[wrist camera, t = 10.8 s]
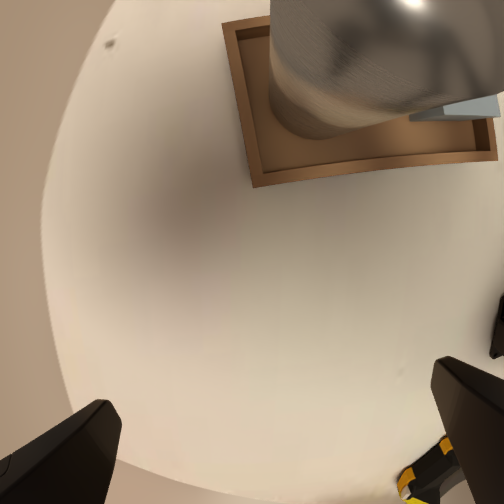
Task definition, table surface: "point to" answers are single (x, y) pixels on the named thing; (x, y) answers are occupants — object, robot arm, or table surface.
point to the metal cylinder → (379, 60)
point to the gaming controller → (428, 475)
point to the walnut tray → (340, 147)
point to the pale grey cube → (461, 111)
